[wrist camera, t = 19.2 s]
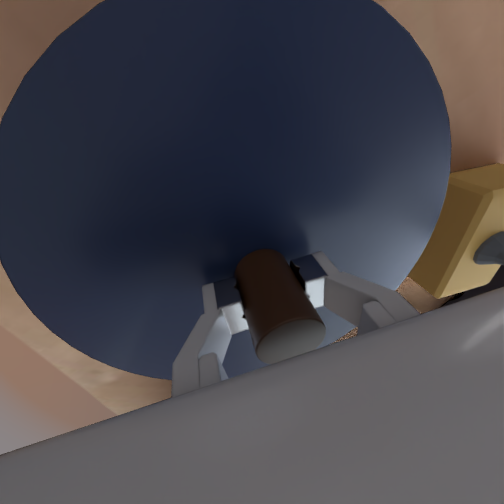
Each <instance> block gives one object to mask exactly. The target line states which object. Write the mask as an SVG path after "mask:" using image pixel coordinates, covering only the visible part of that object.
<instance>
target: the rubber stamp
mask: <svg viewBox="0 0 504 504" xmlns="http://www.w3.org/2000/svg"><path fill="white" fill-rule="evenodd" d="M501 265H504V164H499V163H497V164H492V165H488V166H483V167H478V168H473V169H468V170H463V171H458V172H453V173H450V175H449V180H448V186H447V191H446V196H445V200H444V203H443V206H442V209H441V213H440V216H439V219H438V221H437V224H436V226H435V228H434V231H433V233H432V235H431V238H430V240H429V241H428V243H427V245H426V247H425V249H424V251H423V252H422V254H421V256H420V258H419V259H418V261H417V262H416V264H415V265H414V267H413V268H412V270H411V271H410V273H409V274H408V276H409V277H410V278H411V279H413V280H414V281H415V282H416V283H417V284H419V285H420V286H421V287H422V288H424V289H425V290H426V291H427V292H429V293H430V294H431V295H432V296H434V297H435V298H437V299H439V298H442V297H446V296H449V295H453V294H456V293H460V292H463V291H466V290H470V289H473V288H477V287H480V286H483V285H486V284H488V283H489V282H490V281H491V279H492V278H493V276H494V275H495V273H496V272H497V270H498V269H499V267H500V266H501Z"/></svg>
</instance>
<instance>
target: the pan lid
mask: <svg viewBox="0 0 504 504" xmlns="http://www.w3.org/2000/svg"><path fill="white" fill-rule="evenodd" d="M450 164H451V136H450V124H449V117H448V113H447V109H446V105H445V101H444V97H443V93H442V90H441V87H440V85H439V83H438V81H437V78H436V76H435V74H434V72H433V69H432V67H431V65H430V63H429V61H428V59H427V58H426V56H425V55H424V53H423V52H422V51H421V49H420V48H419V46H418V45H417V43H416V42H415V40H414V39H413V37H412V36H411V35H410V33H409V32H408V31H407V30H406V29H405V28H404V27H403V26H402V25H401V24H400V23H399V22H398V21H396V20H395V19H394V18H393V17H392V16H391V15H390V14H389V13H388V12H387V11H386V10H385V9H384V8H383V7H382V6H380V5H379V4H377V3H376V2H374V1H373V0H105V1H103V2H101V3H99V4H98V5H96V6H95V7H94V8H93V9H91V10H90V11H89V12H87V13H86V14H85V15H84V16H82V17H81V18H80V19H79V20H77V21H76V22H75V23H74V24H72V25H71V26H70V27H69V28H67V29H66V30H65V31H64V32H62V33H61V34H60V35H59V36H57V37H56V39H55V40H54V41H53V42H52V43H51V45H50V46H49V47H48V48H47V49H46V51H45V52H44V53H43V54H42V55H41V57H40V58H39V59H38V60H37V61H36V63H35V64H34V65H33V66H32V67H31V69H30V70H29V71H28V72H27V73H26V75H25V76H24V78H23V80H22V81H21V83H20V85H19V87H18V89H17V91H16V93H15V95H14V96H13V98H12V100H11V102H10V104H9V106H8V108H7V110H6V112H5V113H4V115H3V117H2V121H1V124H0V260H1V263H2V266H3V268H4V270H5V272H6V273H7V275H8V277H9V279H10V281H11V283H12V285H13V286H14V288H15V290H16V292H17V293H18V295H19V296H20V297H21V298H22V300H23V301H24V302H25V304H26V305H27V306H28V308H29V309H30V310H31V311H32V313H33V314H34V315H35V316H36V317H37V318H38V319H39V320H40V321H41V322H42V323H43V324H44V325H45V326H46V327H47V328H49V329H50V330H51V331H52V332H53V333H54V334H56V335H57V336H58V337H60V338H61V339H62V340H64V341H65V342H66V343H68V344H69V345H70V346H72V347H74V348H75V349H77V350H79V351H81V352H82V353H84V354H86V355H88V356H89V357H91V358H93V359H95V360H98V361H100V362H102V363H105V364H107V365H109V366H112V367H115V368H118V369H121V370H124V371H127V372H130V373H134V374H138V375H143V376H147V377H152V378H159V379H167V380H172V366H173V362H174V360H175V359H176V357H177V355H178V354H179V352H180V350H181V348H182V347H183V345H184V343H185V342H186V340H187V338H188V336H189V335H190V333H191V331H192V330H193V328H194V326H195V324H196V323H197V321H198V319H199V318H200V316H201V315H202V314H204V304H203V294H202V285H206V284H210V283H214V282H216V281H220V280H224V279H228V278H231V277H235V279H236V282H237V285H238V289H239V293H240V296H241V300H242V303H243V307H244V311H245V313H244V314H245V317H246V321H247V324H248V328H249V329H248V330H245V331H242V332H239V333H236V334H233V335H231V336H232V337H231V340H230V343H229V345H228V348H227V351H226V354H225V357H224V360H223V363H222V366H223V368H224V370H225V372H226V374H227V376H228V378H232V377H235V376H238V375H241V374H244V373H247V372H250V371H253V370H256V369H259V368H262V367H265V366H268V365H271V364H274V363H277V362H280V361H283V360H286V359H289V358H292V357H295V356H298V355H301V354H304V353H307V352H310V351H313V350H316V349H319V348H322V347H325V346H328V345H329V344H331V343H333V342H334V341H336V340H338V339H339V338H341V337H342V336H344V335H345V334H347V333H348V332H350V331H351V330H352V329H354V328H355V327H356V326H355V325H353V324H351V323H350V322H348V321H347V320H345V319H343V318H342V317H340V316H338V315H337V314H335V313H334V312H332V311H330V310H329V309H327V308H326V307H324V306H322V307H318V308H314V306H313V304H312V303H311V301H310V299H309V298H308V296H307V294H306V293H305V291H304V289H303V287H302V286H301V284H300V282H299V281H298V279H297V277H296V276H295V274H294V272H293V271H292V269H291V267H290V260H293V259H296V258H299V257H303V256H306V255H309V254H312V253H315V252H318V251H322V252H323V253H324V254H325V255H326V256H327V258H328V259H329V260H330V261H331V262H332V263H333V265H334V266H335V267H336V268H337V269H338V270H339V272H346V273H349V274H351V275H354V276H357V277H359V278H362V279H365V280H367V281H370V282H373V283H375V284H378V285H380V286H383V287H386V288H388V289H391V290H394V291H395V290H396V289H397V288H398V287H399V285H400V284H401V283H402V282H403V280H404V279H405V278H406V277H407V275H408V274H409V273H410V271H411V270H412V268H413V267H414V265H415V264H416V262H417V261H418V259H419V258H420V256H421V254H422V252H423V251H424V249H425V247H426V245H427V243H428V241H429V240H430V238H431V235H432V233H433V231H434V228H435V226H436V224H437V221H438V219H439V216H440V213H441V209H442V206H443V203H444V200H445V196H446V191H447V186H448V180H449V175H450Z"/></svg>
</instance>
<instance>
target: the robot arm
mask: <svg viewBox="0 0 504 504" xmlns="http://www.w3.org/2000/svg"><path fill="white" fill-rule="evenodd" d="M290 267H291V269H292V271H293V272H294V274H295V276H296V277H297V279H298V281H299V282H300V284H301V286H302V287H303V289H304V291H305V293H306V294H307V296H308V298H309V299H310V301H311V303H312V304H313V306H314V308H318V307H322V306H324V307H326V308H327V309H329V310H330V311H332V312H334V313H335V314H337V315H338V316H340V317H342V318H343V319H345V320H347V321H348V322H350V323H351V324H353V325H355V326H356V327H358V333H357V336H355V337H352V338H349V339H346V340H343V341H340V342H337V343H334V344H331V345H328V346H325V347H322V348H319V349H316V350H313V351H310V352H307V353H304V354H301V355H298V356H295V357H292V358H289V359H286V360H283V361H280V362H277V363H274V364H271V365H268V366H265V367H262V368H259V369H256V370H253V371H250V372H247V373H244V374H241V375H238V376H235V377H232V378H228V376H227V374H226V372H225V370H224V368H223V366H222V363H223V360H224V357H225V354H226V351H227V348H228V345H229V343H230V340H231V337H232V336H231V335H233V334H236V333H239V332H242V331H245V330H248V329H249V328H248V324H247V321H246V317H245V314H244V313H245V311H244V307H243V303H242V300H241V296H240V293H239V289H238V285H237V282H236V279H235V277H231V278H228V279H224V280H220V281H216V282H214V283H210V284H206V285H202V294H203V304H204V314H202V315H201V316H200V318H199V319H198V321H197V323H196V324H195V326H194V328H193V330H192V331H191V333H190V335H189V336H188V338H187V340H186V342H185V343H184V345H183V347H182V348H181V350H180V352H179V354H178V355H177V357H176V359H175V360H174V362H173V366H172V394H171V398H169V399H166V400H163V401H160V402H157V403H154V404H151V405H148V406H145V407H142V408H139V409H136V410H133V411H130V412H127V413H124V414H121V415H118V416H115V417H112V418H109V419H107V420H103V421H100V422H97V423H94V424H91V425H88V426H85V427H83V428H79V429H77V430H74V431H70V432H67V433H65V434H61V435H58V436H55V437H52V438H50V439H46V440H44V441H41V442H38V443H35V444H32V445H29V446H26V447H23V448H20V449H17V450H14V451H11V452H8V453H5V454H2V455H0V504H504V287H501V288H498V289H495V290H492V291H489V292H486V293H483V294H480V295H477V296H474V297H471V298H468V299H465V300H462V301H459V302H456V303H453V304H450V305H447V306H444V307H441V308H438V309H435V310H432V311H429V312H426V313H423V314H420V313H419V312H418V311H417V310H416V309H415V308H414V307H413V306H412V305H411V304H410V303H409V302H408V301H406V300H405V299H404V298H403V297H402V296H401V295H400V294H399V293H398V292H396V291H394V290H391V289H388V288H386V287H383V286H380V285H378V284H375V283H373V282H370V281H367V280H365V279H362V278H359V277H357V276H354V275H351V274H349V273H346V272H339V270H338V269H337V268H336V267H335V266H334V265H333V263H332V262H331V261H330V260H329V259H328V258H327V256H326V255H325V254H324V253H323V252H322V251H318V252H315V253H312V254H309V255H306V256H303V257H299V258H296V259H293V260H290Z"/></svg>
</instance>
